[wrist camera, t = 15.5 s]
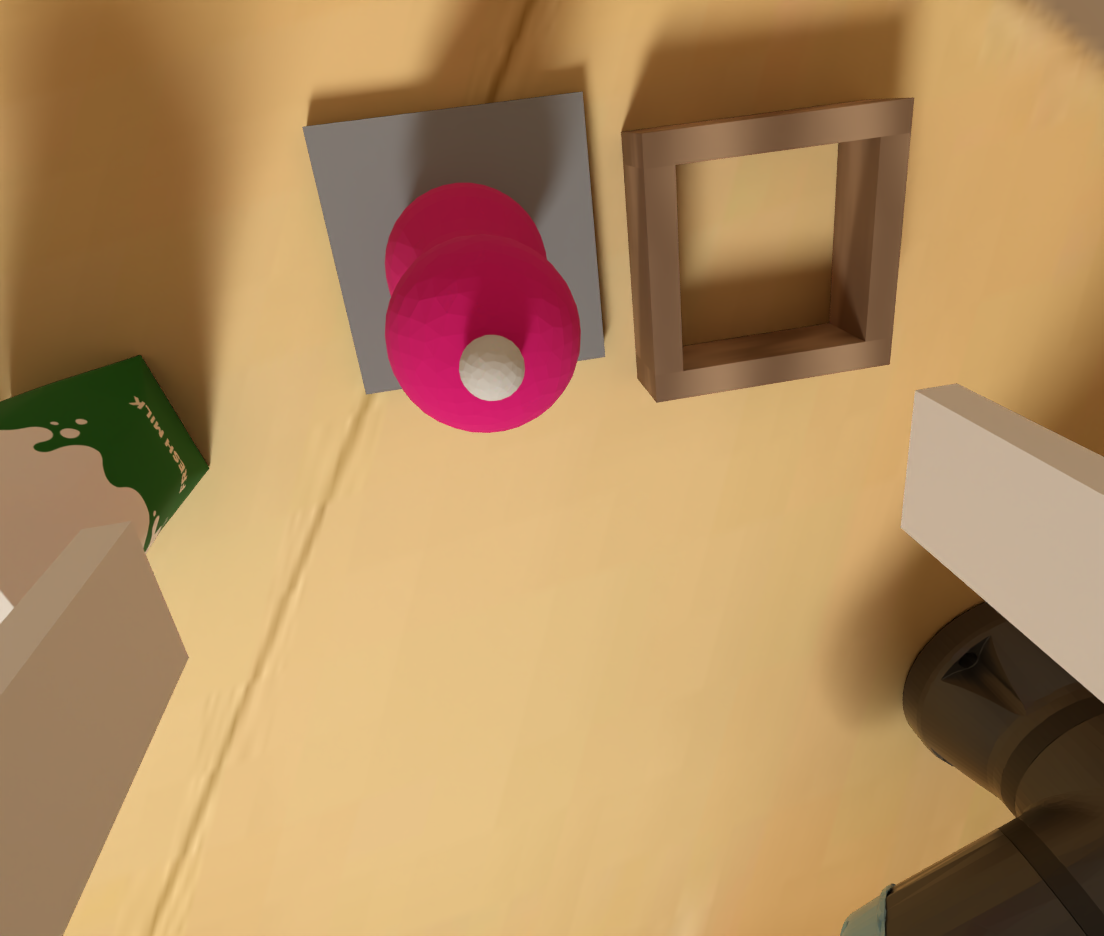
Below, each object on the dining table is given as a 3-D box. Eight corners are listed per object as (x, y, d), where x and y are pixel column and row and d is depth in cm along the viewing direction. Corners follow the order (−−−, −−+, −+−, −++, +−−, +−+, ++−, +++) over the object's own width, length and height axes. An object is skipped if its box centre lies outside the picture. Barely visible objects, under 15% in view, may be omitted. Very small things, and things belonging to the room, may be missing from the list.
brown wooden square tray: (868, 99, 38) (914, 97, 34) (851, 344, 44) (889, 364, 40) (621, 132, 37) (641, 133, 33) (637, 378, 43) (656, 402, 39)
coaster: (577, 92, 36) (582, 91, 35) (600, 350, 42) (605, 356, 41) (306, 126, 35) (302, 126, 34) (367, 387, 41) (366, 394, 39)
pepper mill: (380, 178, 35) (330, 240, 17) (532, 173, 36) (633, 226, 18) (398, 329, 38) (370, 514, 20) (537, 320, 39) (628, 490, 21)
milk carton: (-17, 391, 38) (-420, 638, 20) (150, 330, 38) (-101, 523, 20) (84, 530, 42) (-176, 841, 24) (236, 475, 42) (91, 745, 24)
